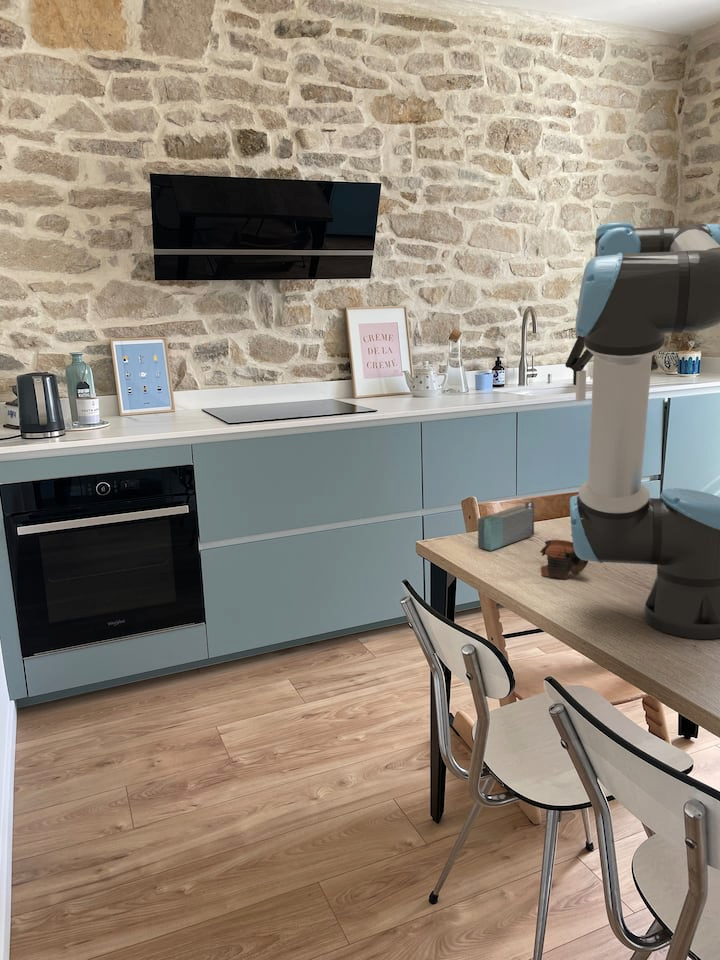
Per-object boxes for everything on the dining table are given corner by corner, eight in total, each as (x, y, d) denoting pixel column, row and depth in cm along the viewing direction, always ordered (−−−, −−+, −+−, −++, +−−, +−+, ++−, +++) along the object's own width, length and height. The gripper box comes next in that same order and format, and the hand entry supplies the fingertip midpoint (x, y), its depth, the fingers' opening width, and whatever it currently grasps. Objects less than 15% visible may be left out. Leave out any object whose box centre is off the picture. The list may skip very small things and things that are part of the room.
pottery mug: (527, 575, 159) (532, 538, 161) (556, 586, 164) (561, 549, 166) (573, 576, 149) (578, 536, 151) (602, 586, 154) (606, 548, 156)
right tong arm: (525, 534, 185) (526, 506, 183) (532, 535, 183) (532, 508, 182) (484, 548, 175) (484, 520, 173) (490, 550, 173) (490, 521, 172)
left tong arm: (519, 532, 186) (519, 505, 185) (525, 534, 185) (525, 506, 183) (478, 547, 176) (478, 518, 174) (484, 548, 175) (484, 520, 173)
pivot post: (530, 535, 184) (530, 504, 183) (523, 534, 186) (523, 503, 184) (535, 533, 186) (536, 502, 184) (528, 532, 187) (528, 501, 186)
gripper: (679, 298, 149) (673, 404, 153) (570, 302, 167) (567, 397, 172) (661, 299, 144) (655, 408, 149) (551, 303, 162) (549, 400, 167)
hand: (608, 402), depth 160 cm, fingers open, 13 cm apart
